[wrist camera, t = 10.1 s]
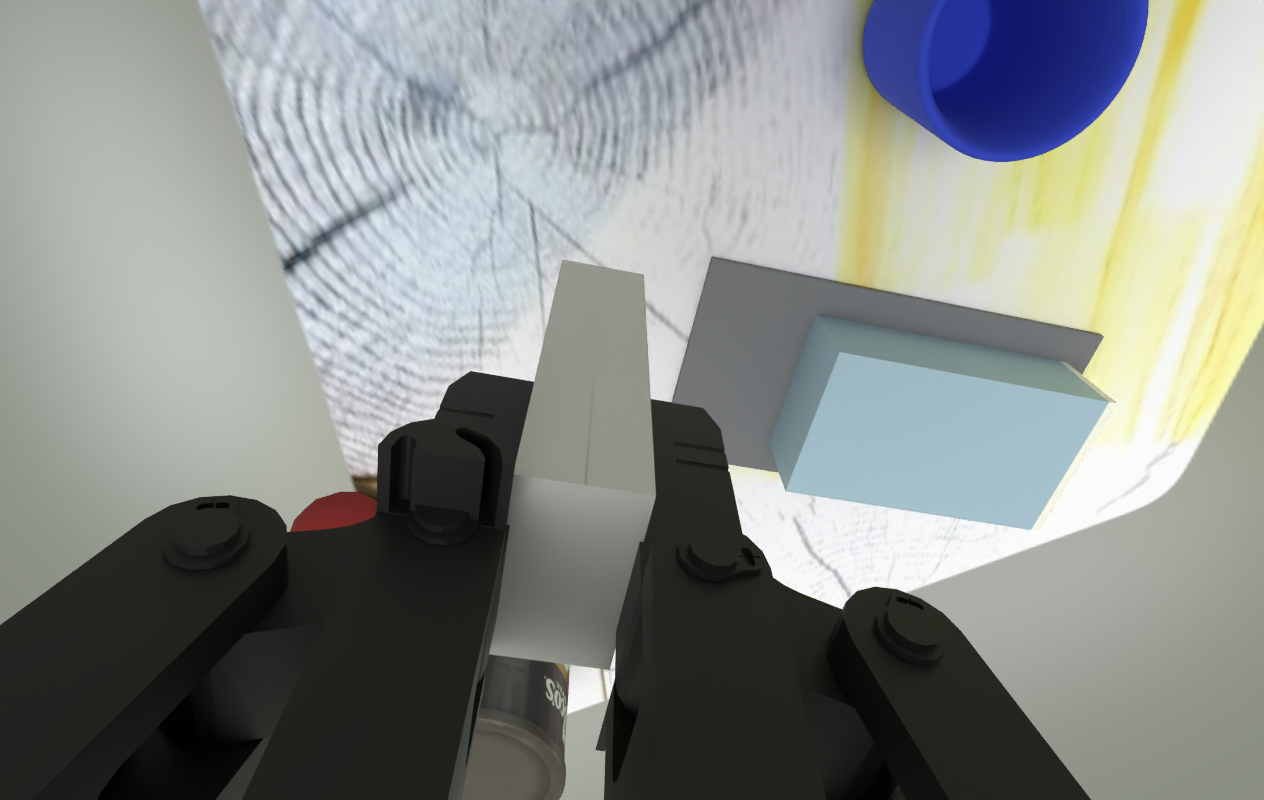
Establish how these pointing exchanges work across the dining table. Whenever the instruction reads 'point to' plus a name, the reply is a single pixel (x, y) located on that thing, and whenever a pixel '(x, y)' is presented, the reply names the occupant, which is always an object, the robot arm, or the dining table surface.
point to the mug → (1003, 67)
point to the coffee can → (520, 732)
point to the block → (933, 424)
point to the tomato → (336, 511)
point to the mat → (778, 328)
